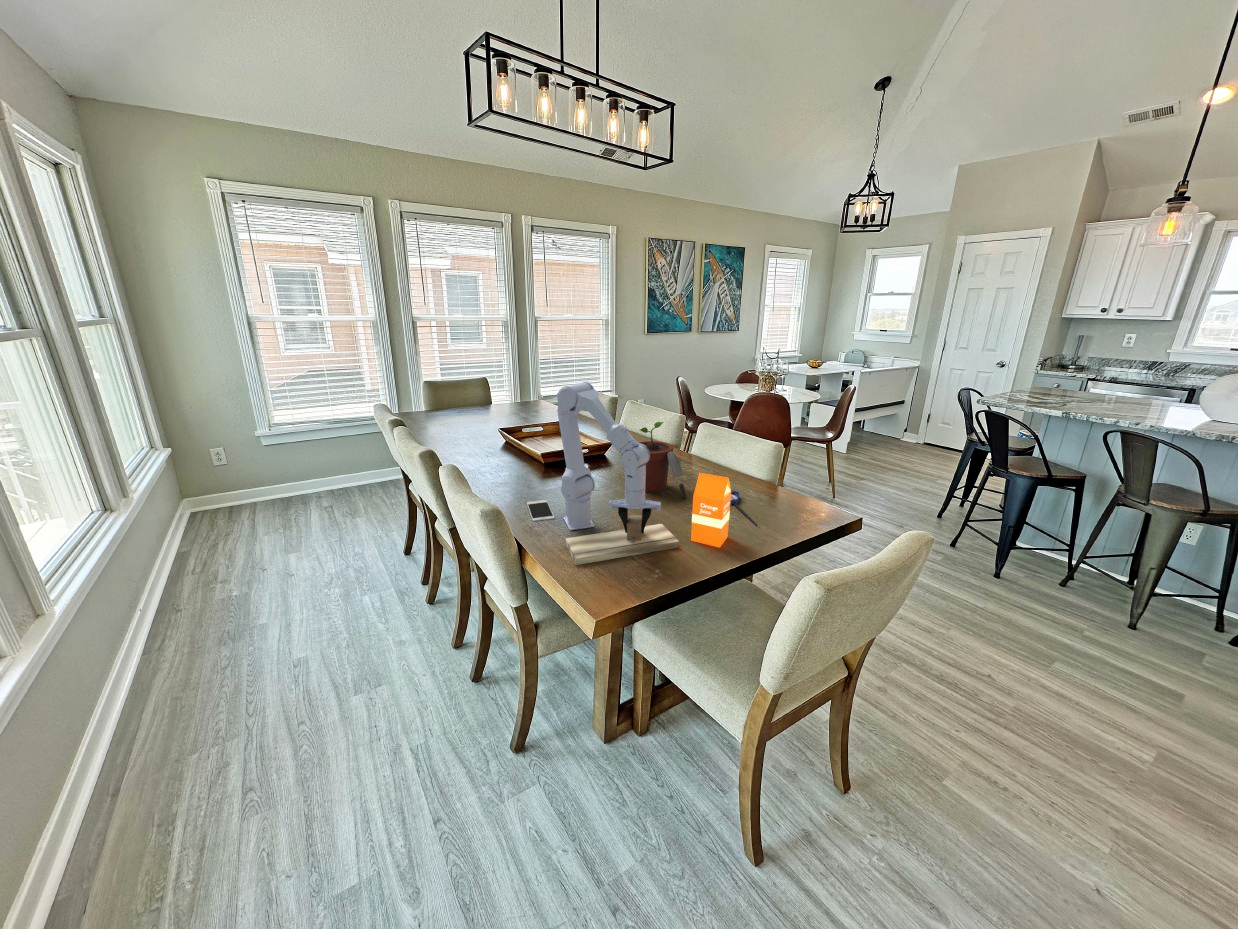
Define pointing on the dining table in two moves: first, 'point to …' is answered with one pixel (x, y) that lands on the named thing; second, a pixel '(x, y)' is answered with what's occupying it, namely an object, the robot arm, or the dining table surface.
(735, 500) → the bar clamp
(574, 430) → the robot arm
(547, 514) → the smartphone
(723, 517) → the orange juice
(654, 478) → the potted plant
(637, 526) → the block
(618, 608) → the dining table surface
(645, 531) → the pine board
